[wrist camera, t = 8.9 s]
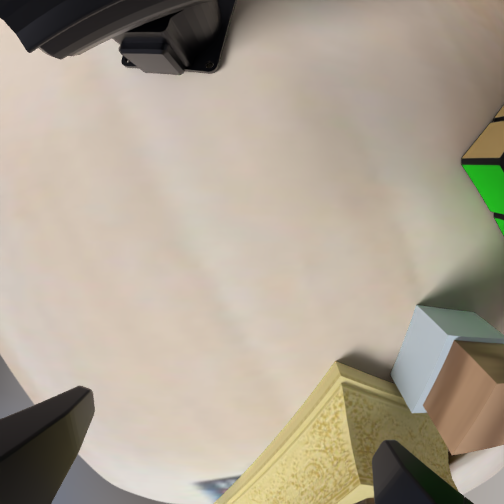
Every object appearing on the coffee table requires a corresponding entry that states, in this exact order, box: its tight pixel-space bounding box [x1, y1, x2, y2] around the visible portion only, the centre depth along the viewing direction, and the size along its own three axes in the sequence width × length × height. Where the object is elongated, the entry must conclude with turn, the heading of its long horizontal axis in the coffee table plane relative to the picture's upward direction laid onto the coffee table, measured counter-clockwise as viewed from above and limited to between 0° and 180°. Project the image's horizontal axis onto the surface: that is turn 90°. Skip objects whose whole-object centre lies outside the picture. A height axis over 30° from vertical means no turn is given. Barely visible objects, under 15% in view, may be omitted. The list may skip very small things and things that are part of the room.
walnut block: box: [423, 340, 504, 455], centre depth 14 cm, size 5×5×5 cm
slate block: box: [390, 305, 504, 413], centre depth 19 cm, size 6×6×5 cm
